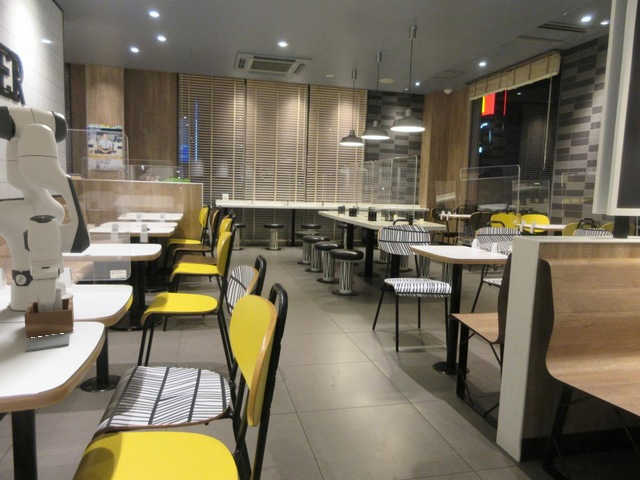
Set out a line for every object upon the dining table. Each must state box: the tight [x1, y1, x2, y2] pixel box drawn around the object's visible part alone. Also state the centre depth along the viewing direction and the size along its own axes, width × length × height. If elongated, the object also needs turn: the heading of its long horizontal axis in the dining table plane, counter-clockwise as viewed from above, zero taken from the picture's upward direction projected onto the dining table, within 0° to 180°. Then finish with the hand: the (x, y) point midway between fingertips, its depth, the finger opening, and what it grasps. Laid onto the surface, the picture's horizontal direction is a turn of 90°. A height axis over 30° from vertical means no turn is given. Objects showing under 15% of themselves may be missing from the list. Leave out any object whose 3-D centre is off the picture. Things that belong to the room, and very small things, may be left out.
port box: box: [23, 297, 75, 339], centre depth 138 cm, size 16×12×7 cm
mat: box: [25, 333, 70, 353], centre depth 125 cm, size 10×10×1 cm
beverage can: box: [37, 289, 62, 313], centre depth 137 cm, size 6×6×12 cm
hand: (50, 311), depth 137 cm, fingers closed on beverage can, 6 cm apart
